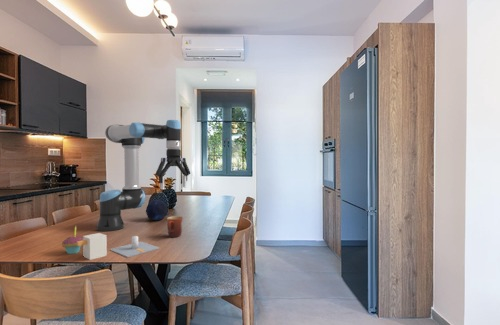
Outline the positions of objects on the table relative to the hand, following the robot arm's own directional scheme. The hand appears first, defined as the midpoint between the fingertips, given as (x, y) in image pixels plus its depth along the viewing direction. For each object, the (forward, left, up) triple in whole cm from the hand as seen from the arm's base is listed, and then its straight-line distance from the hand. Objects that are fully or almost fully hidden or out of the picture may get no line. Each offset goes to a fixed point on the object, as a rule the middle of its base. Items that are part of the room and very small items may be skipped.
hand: (173, 188), depth 153 cm
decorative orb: (-48, +21, -28) cm, 59 cm away
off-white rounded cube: (-4, -41, -27) cm, 49 cm away
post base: (+1, -23, -27) cm, 36 cm away
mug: (-3, +2, -27) cm, 28 cm away
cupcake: (-17, -43, -27) cm, 54 cm away
